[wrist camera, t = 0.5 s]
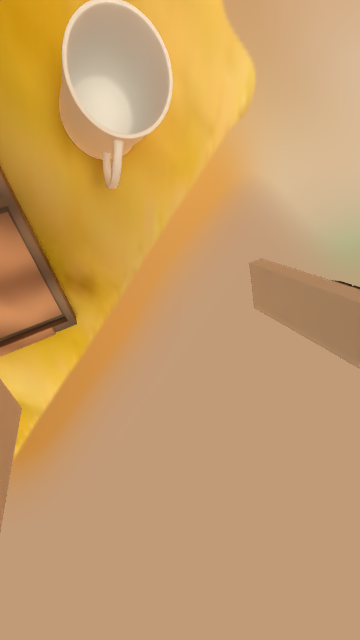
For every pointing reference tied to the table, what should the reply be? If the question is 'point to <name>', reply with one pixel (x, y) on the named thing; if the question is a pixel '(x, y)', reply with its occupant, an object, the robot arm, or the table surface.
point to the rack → (26, 282)
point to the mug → (112, 81)
